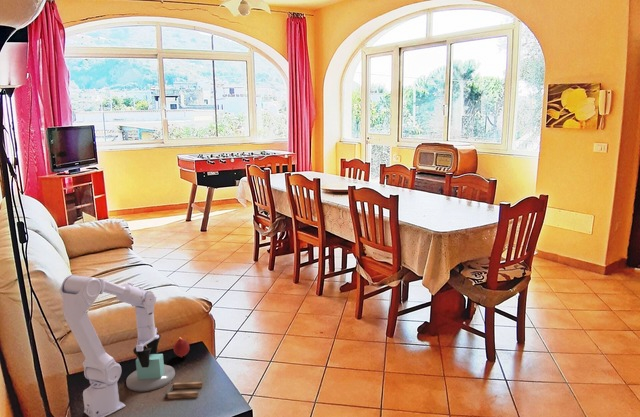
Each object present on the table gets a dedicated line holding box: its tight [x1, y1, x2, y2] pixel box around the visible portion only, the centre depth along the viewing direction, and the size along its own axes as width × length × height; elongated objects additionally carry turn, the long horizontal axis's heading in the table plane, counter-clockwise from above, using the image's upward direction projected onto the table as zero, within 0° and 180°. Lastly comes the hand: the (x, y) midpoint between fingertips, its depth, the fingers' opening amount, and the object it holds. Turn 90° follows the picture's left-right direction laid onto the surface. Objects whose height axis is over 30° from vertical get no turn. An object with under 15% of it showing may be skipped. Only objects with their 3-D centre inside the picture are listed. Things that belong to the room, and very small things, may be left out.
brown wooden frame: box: [164, 381, 204, 400], centre depth 150 cm, size 10×7×2 cm, turn 91°
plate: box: [125, 364, 176, 393], centre depth 159 cm, size 16×16×1 cm
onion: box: [173, 336, 190, 358], centre depth 174 cm, size 6×6×8 cm
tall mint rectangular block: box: [135, 353, 165, 379], centre depth 159 cm, size 8×4×7 cm, turn 91°
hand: (149, 361), depth 158 cm, fingers open, 7 cm apart
